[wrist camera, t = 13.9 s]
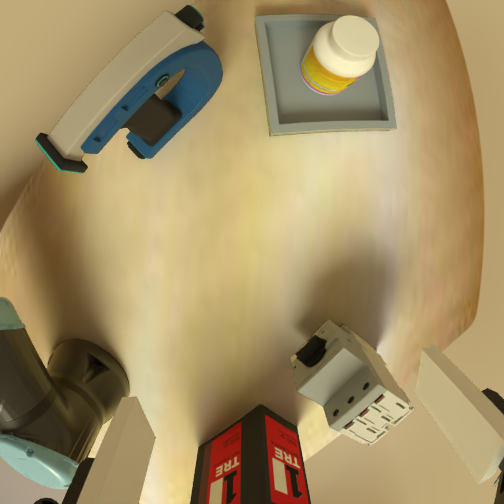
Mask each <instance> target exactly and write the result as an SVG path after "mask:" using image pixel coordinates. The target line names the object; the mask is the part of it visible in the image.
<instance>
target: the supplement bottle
mask: <svg viewBox="0 0 504 504" xmlns="http://www.w3.org/2000/svg"><path fill="white" fill-rule="evenodd" d="M378 47H379V36H378V33H377V31H376V30H375V28H374V27H373V26H372V25H371V24H370V23H369V22H368V21H366V20H365V19H363V18H361V17H358V16H353V15H346V16H342V17H340V18H338V19H337V20H336V21H333V22H330V23H327V24H325V25H323V26H322V27H321V28H320V29H319V30H318V31H317V33H316V35H315V37H314V39H313V41H312V42H311V44H310V46H309V48H308V50H307V52H306V54H305V56H304V58H303V59H302V62H301V65H300V73H301V76H302V79H303V81H304V82H305V84H306V85H307V86H308V87H309V88H310V89H311V90H313V91H314V92H316V93H319V94H322V95H336V94H339V93H341V92H342V91H344V90H345V89H346V88H348V87H349V86H350V85H351V84H353V83H354V82H355V81H356V80H357V79H359V78H360V77H361V76H362V75H364V74H365V73H366V72H367V71H369V70H370V69H371V67H372V66H373V64H374V61H375V57H376V51H377V49H378Z"/></svg>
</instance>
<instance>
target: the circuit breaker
mask: <svg viewBox="0 0 504 504" xmlns="http://www.w3.org/2000/svg"><path fill="white" fill-rule="evenodd" d="M376 352H377V350H376V349H373V348H372V346H371V345H369V344H368V343H367V342H366V341H364V340H363V339H362V338H361V337H359V336H358V335H357V334H355V333H354V332H353V331H352V330H350V329H349V328H348V327H347V326H345V325H344V324H343V325H342V326H341V327H339V326H337V325H336V324H335V323H333V322H332V321H331V320H330V319H328V320H327V321H326V322H325V323H324V324H323V325H322V326H321V327H320V328H319V329H318V330H317V331H316V332H315V333H314V334H313V335H312V336H311V339H310V340H307V341H306V342H305V343H304V344H303V345H302V346H301V347H300V348H299V349H298V350H297V351H296V352H295V353H294V354H293V355H292V356H291V357H290V361H291V365H292V370H293V375H294V379H295V384H296V388H297V391H298V392H299V393H301V394H302V395H304V396H306V397H307V398H309V399H311V400H312V401H314V402H316V403H318V404H319V405H321V406H323V408H324V411H325V415H326V418H327V421H328V425H329V427H330V428H332V429H334V430H336V431H338V432H340V433H342V434H344V435H346V436H348V437H350V438H352V439H354V440H356V441H359V442H360V443H363V444H366V443H369V444H368V446H371V445H372V444H374V443H375V442H376V441H377V440H379V439H380V438H381V437H382V436H384V435H385V434H386V433H387V432H389V429H388V426H387V425H388V424H391V425H392V426H394V427H395V426H396V425H397V424H398V423H399V422H400V421H402V419H404V418H405V417H406V416H407V415H408V414H409V413H410V412H412V411H413V410H414V407H411V408H410V405H409V403H410V400H409V399H408V397H407V396H406V394H405V392H404V391H403V390H402V389H401V388H399V386H398V385H397V383H396V381H395V380H394V378H393V377H392V375H391V374H390V372H389V371H388V369H387V368H386V366H387V365H386V364H385V362H384V361H383V359H382V358H381V356H380V355H379V354H378V353H376ZM400 416H401V417H400ZM399 417H400V418H399ZM398 418H399V419H398ZM396 419H397V420H396ZM382 431H383V432H382ZM381 432H382V433H381ZM380 433H381V434H380ZM379 434H380V435H379Z"/></svg>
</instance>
